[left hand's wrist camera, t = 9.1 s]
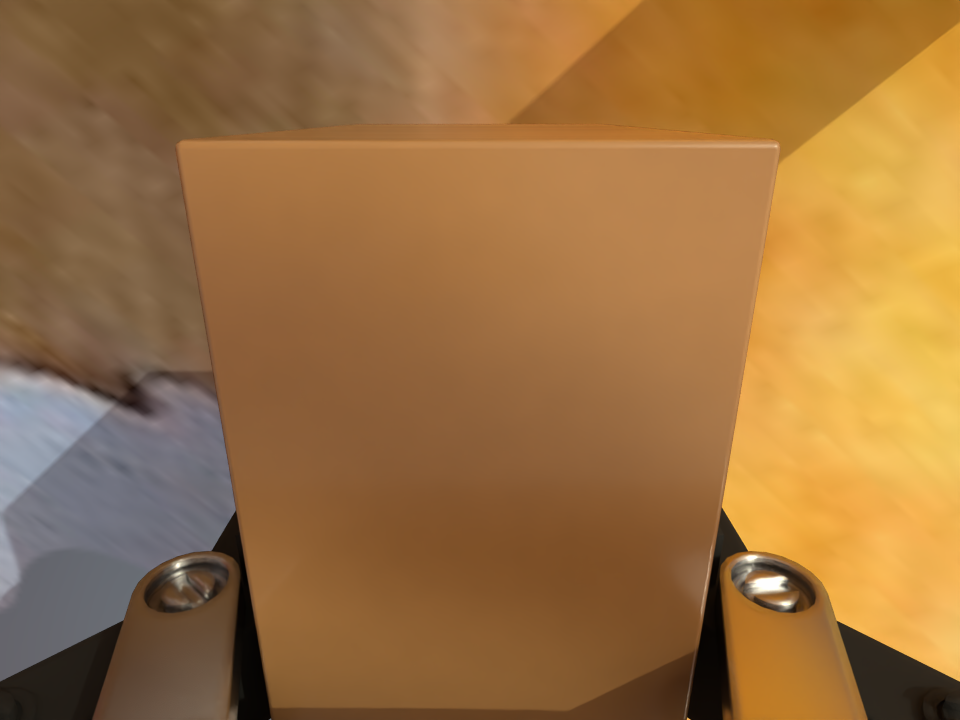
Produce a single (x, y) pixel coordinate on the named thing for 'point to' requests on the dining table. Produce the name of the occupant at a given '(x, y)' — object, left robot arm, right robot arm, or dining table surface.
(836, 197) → the dining table surface
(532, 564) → the post
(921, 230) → the dining table surface
